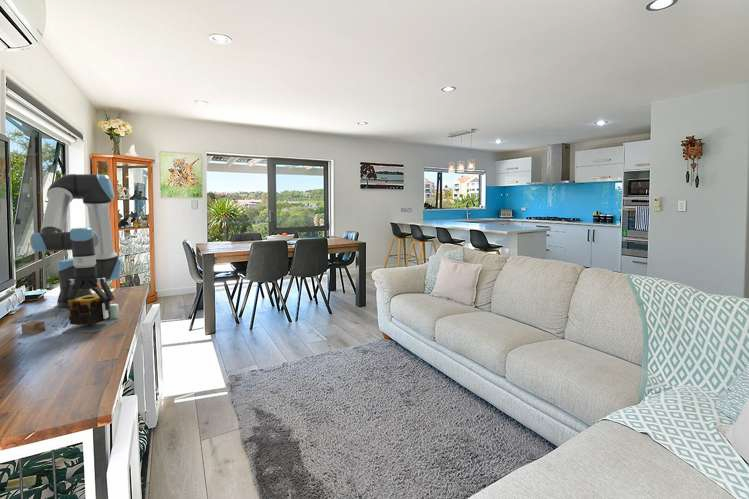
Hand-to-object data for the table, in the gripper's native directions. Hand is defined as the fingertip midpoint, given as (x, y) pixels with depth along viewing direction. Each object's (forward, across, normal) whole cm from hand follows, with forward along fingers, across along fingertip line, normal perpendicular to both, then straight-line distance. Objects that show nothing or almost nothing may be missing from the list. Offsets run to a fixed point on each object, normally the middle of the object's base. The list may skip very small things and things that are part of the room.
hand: (90, 318), depth 166 cm
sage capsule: (+4, +3, +12) cm, 13 cm away
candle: (+1, 0, 0) cm, 1 cm away
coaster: (+4, 0, 0) cm, 4 cm away
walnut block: (+4, -19, -3) cm, 20 cm away
